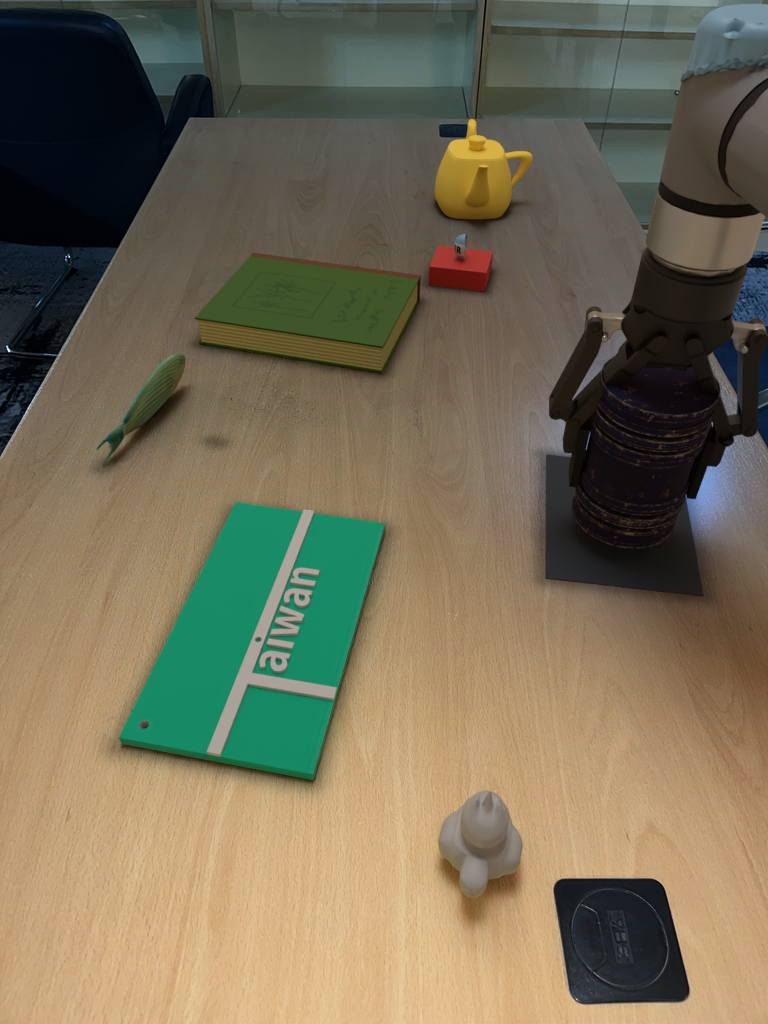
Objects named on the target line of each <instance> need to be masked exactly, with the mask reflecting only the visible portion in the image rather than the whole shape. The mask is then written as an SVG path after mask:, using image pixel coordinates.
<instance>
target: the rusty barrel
mask: <svg viewBox="0 0 768 1024" xmlns="http://www.w3.org/2000/svg"><path fill="white" fill-rule="evenodd" d="M614 356H615V355H614ZM614 356H611V357H610V358H608V359H607V360H606V361H605V362H604V363H603V365H602V367H601V370H600V371H601V374H600V383H601V384H602V385H603V388H602V393H603V396H602V398H601V399H600V401H599V405H598V406H599V407H600V408H599V409H598V410H596V412H595V413H594V414H593V415H592V416H591V417H590V418H589V423H590V434H589V438H588V443H587V447H586V452H585V456H584V460H583V465H582V469H581V474H580V478H579V483H578V487H575V494H574V496H573V500H572V513H573V516H574V518H575V520H576V522H577V523H578V524H579V526H580V527H581V528H582V529H583V530H584V531H585V532H587V533H588V534H589V535H591V536H592V537H594V538H596V539H597V540H599V541H602V542H604V543H606V544H609V545H612V546H617V547H621V548H636V549H638V548H646V547H650V546H654V545H656V544H659V543H661V542H662V541H664V540H665V539H666V538H667V537H669V535H670V534H671V532H672V531H673V528H674V525H675V522H676V519H677V517H678V514H679V513H680V511H681V509H682V506H683V503H684V501H685V498H686V499H687V495H686V493H687V490H688V486H689V481H690V477H689V474H690V471H691V468H692V465H693V462H694V459H695V457H696V456H697V455H698V454H699V453H700V451H701V449H702V448H703V446H704V444H705V441H706V436H707V434H708V432H709V429H710V426H711V424H713V423H712V420H711V419H712V416H713V413H714V410H715V407H716V405H717V402H718V399H719V396H720V394H721V385H720V382H719V380H718V379H717V377H716V376H715V380H716V383H717V387H718V391H719V395H712V394H702V391H701V389H700V386H699V383H698V381H697V378H696V375H695V373H694V370H693V367H690V368H687V370H686V371H683V370H675V369H672V368H669V367H663V368H647V366H646V365H645V366H644V367H643V368H642V369H641V370H640V371H639V372H638V373H637V374H636V375H635V376H631V377H629V378H628V380H627V381H626V382H625V383H624V384H623V385H622V386H621V387H618V386H606V385H605V384H604V382H603V377H602V369H603V368H604V367H605V365H606V364H607V363H608V362H609V361H610V360H611V359H612V358H613V357H614Z"/></svg>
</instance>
